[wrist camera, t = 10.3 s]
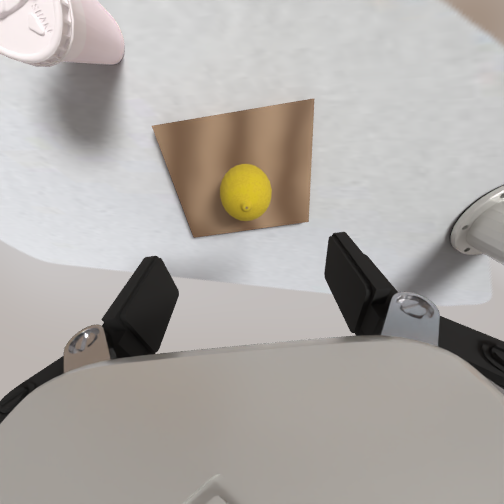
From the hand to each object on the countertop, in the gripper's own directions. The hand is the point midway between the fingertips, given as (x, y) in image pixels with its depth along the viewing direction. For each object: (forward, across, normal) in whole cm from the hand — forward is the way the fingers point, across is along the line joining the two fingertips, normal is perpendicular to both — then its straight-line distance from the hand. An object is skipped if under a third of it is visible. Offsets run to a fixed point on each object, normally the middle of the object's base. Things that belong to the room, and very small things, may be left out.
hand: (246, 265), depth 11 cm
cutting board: (+18, 0, 0) cm, 18 cm away
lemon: (+16, 0, 0) cm, 16 cm away
